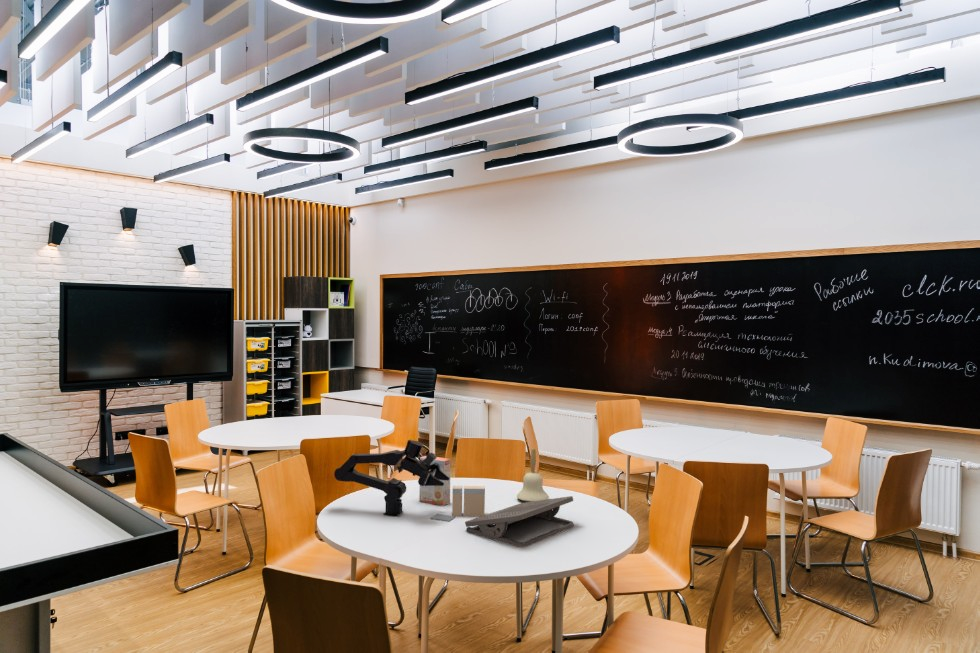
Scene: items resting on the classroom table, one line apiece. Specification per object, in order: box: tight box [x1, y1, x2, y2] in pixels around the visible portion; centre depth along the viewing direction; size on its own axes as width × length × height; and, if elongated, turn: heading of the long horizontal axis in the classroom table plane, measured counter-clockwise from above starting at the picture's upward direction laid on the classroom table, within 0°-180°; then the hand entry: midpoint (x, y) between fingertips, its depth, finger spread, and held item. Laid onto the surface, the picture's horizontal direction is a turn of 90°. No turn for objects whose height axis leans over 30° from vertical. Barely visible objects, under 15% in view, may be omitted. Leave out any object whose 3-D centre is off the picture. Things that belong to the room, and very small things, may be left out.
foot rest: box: [464, 496, 574, 548], centre depth 260 cm, size 39×30×13 cm
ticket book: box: [463, 485, 486, 517], centre depth 277 cm, size 9×5×12 cm, turn 91°
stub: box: [451, 485, 463, 517], centre depth 277 cm, size 4×5×12 cm
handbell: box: [516, 447, 550, 502], centre depth 301 cm, size 15×15×25 cm
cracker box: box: [418, 455, 452, 507], centre depth 295 cm, size 14×6×21 cm, turn 58°
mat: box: [429, 513, 457, 523], centre depth 272 cm, size 9×7×1 cm
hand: (446, 482), depth 272 cm, fingers open, 9 cm apart
